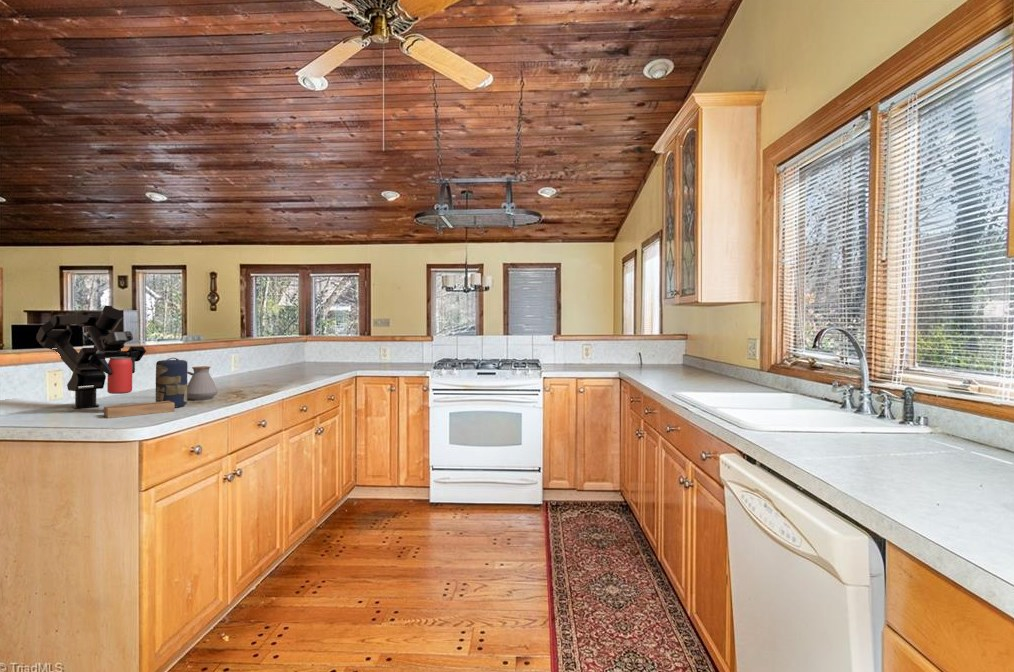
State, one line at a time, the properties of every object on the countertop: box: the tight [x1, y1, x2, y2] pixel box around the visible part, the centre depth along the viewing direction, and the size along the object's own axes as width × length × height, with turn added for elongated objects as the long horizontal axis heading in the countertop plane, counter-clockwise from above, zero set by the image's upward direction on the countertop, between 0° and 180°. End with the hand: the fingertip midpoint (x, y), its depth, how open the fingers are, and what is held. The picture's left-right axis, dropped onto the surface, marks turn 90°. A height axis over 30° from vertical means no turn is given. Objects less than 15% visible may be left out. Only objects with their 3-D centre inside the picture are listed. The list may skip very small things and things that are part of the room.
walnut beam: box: [103, 401, 176, 419], centre depth 162 cm, size 6×18×3 cm, turn 139°
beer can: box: [106, 357, 133, 395], centre depth 164 cm, size 7×7×12 cm
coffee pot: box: [187, 366, 218, 401], centre depth 194 cm, size 21×12×15 cm, turn 98°
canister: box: [155, 357, 188, 408], centre depth 175 cm, size 10×10×18 cm
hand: (122, 373), depth 164 cm, fingers closed on beer can, 6 cm apart
